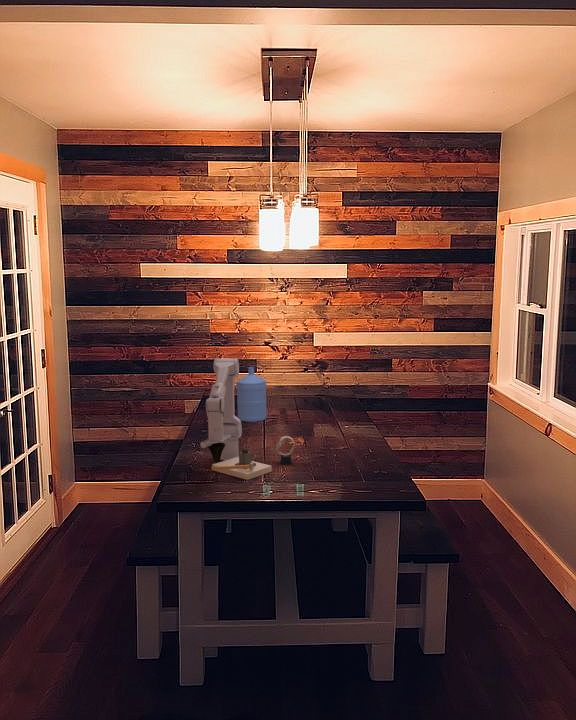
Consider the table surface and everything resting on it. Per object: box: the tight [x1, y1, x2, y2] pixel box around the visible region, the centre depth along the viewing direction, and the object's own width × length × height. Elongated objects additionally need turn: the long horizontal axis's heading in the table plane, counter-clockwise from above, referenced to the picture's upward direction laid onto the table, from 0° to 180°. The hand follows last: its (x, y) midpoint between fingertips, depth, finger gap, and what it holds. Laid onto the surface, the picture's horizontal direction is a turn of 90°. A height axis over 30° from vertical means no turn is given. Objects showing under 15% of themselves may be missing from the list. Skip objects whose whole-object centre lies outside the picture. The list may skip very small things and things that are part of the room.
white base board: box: [211, 457, 273, 481], centre depth 279 cm, size 20×14×2 cm
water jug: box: [236, 366, 268, 423], centre depth 368 cm, size 16×16×28 cm
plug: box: [235, 447, 256, 469], centre depth 277 cm, size 6×6×10 cm
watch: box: [275, 435, 296, 465], centre depth 289 cm, size 6×8×11 cm
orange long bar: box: [211, 463, 254, 471], centre depth 270 cm, size 16×2×2 cm, turn 100°
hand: (216, 461), depth 271 cm, fingers closed
